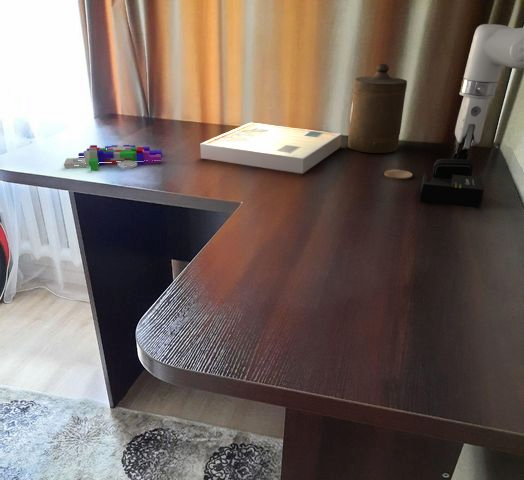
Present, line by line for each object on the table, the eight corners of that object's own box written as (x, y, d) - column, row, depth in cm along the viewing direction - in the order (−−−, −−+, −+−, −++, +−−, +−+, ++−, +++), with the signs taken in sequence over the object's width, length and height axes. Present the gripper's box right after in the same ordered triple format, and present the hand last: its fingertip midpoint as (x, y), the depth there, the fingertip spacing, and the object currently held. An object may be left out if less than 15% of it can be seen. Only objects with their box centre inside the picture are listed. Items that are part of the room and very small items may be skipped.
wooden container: (373, 138, 161) (383, 59, 148) (407, 149, 151) (422, 65, 138) (337, 144, 154) (345, 62, 142) (371, 156, 144) (382, 68, 131)
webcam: (469, 181, 126) (475, 158, 123) (467, 188, 122) (473, 164, 118) (432, 176, 129) (437, 153, 126) (428, 183, 125) (433, 159, 121)
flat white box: (250, 122, 161) (341, 133, 150) (250, 135, 163) (340, 147, 152) (200, 143, 138) (303, 158, 128) (200, 158, 140) (302, 173, 130)
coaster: (411, 172, 132) (411, 170, 132) (412, 180, 127) (413, 178, 127) (384, 170, 133) (384, 168, 133) (384, 178, 128) (384, 176, 128)
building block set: (161, 147, 149) (159, 131, 146) (162, 168, 132) (160, 150, 130) (73, 150, 145) (69, 134, 142) (63, 171, 129) (59, 153, 126)
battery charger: (477, 194, 119) (481, 176, 116) (479, 207, 111) (484, 189, 109) (420, 188, 121) (423, 171, 119) (419, 201, 114) (422, 183, 112)
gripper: (500, 96, 109) (475, 180, 120) (490, 84, 121) (468, 162, 132) (465, 93, 110) (443, 177, 121) (457, 82, 122) (438, 159, 133)
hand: (456, 169), depth 127 cm, fingers closed
